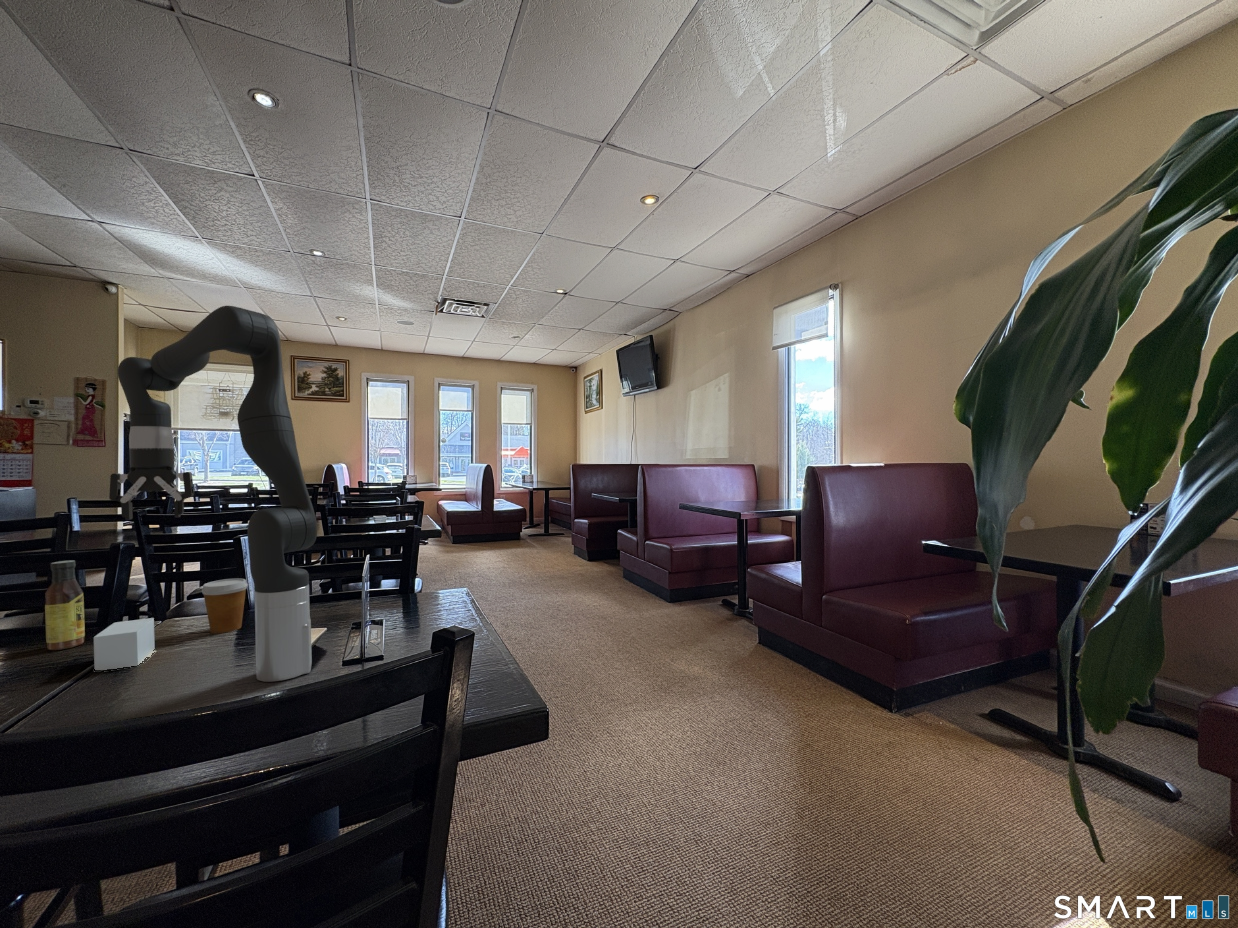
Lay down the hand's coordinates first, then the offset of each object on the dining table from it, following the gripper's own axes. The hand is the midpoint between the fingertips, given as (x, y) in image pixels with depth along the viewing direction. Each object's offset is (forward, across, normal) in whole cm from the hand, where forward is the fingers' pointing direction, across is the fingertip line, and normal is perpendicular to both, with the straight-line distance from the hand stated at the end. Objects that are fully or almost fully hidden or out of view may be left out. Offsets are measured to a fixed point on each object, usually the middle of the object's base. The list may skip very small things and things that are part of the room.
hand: (153, 518), depth 119 cm
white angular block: (+30, -4, -6) cm, 31 cm away
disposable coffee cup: (+30, +11, +9) cm, 34 cm away
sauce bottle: (+30, -20, +14) cm, 38 cm away
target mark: (+30, -4, -6) cm, 31 cm away
